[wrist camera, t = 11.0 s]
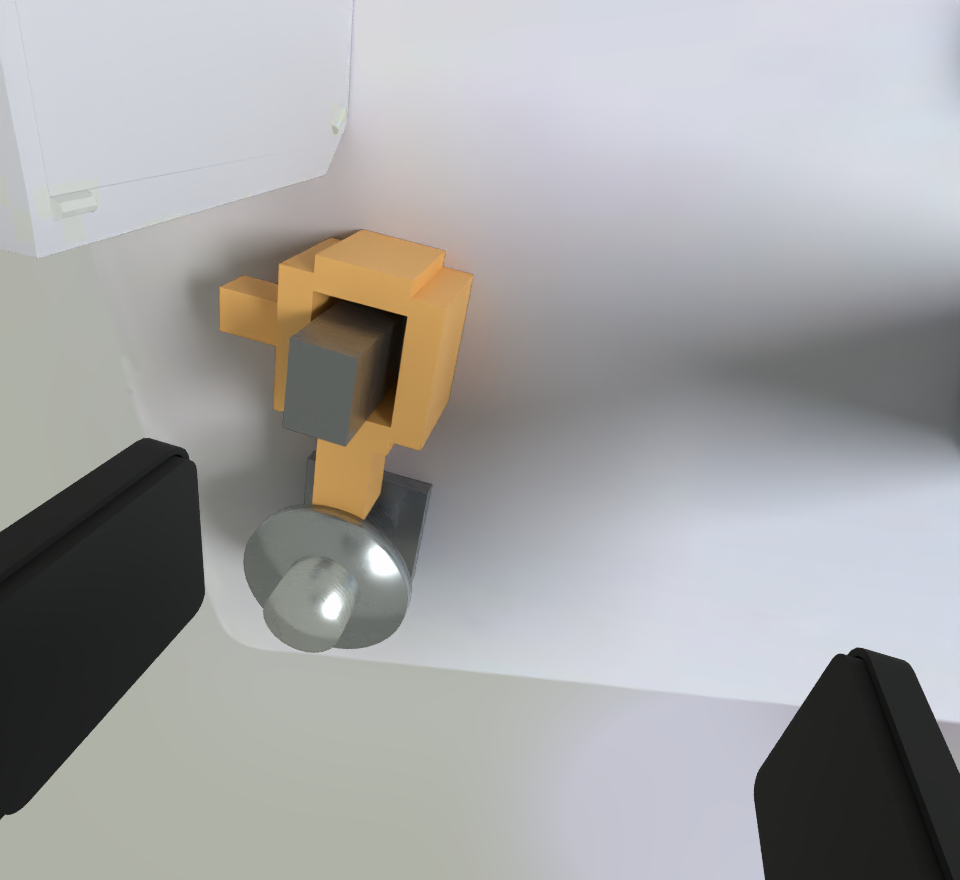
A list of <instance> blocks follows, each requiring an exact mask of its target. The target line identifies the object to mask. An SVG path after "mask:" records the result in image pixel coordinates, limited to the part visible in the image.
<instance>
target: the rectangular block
mask: <svg viewBox="0 0 960 880" xmlns="http://www.w3.org/2000/svg"><path fill="white" fill-rule="evenodd" d="M407 317H408V316H404V315H400V314H397V313H393V312H389V311H385V310H382V309H378V308H374V307H371V306H367V305H363V304H359V303H356V302H352V301H348V300H344V299H341V300H340V301H339V302H337V303H336V304H335V305H333V306H332V307H331V308H329V309H328V310H327V311H325V312H324V313H322V314H321V315H320V316H318V317H317V318H316V319H314V320H313V321H312V322H310V323H309V324H308V325H306V326H305V327H304V328H302V329H301V330H300V331H298V332H297V333H296V334H294V335H293V336H292V337H290V340H289V353H288V365H287V377H286V390H285V402H284V414H283V426H282V427H283V428H286V429H289V430H292V431H296V432H299V433H302V434H305V435H309V436H312V437H315V438H318V439H321V440H325V441H328V442H331V443H334V444H337V445H341V446H344V447H346V446H347V444H348V443H349V442H350V441H351V439H352V438H353V437H354V435H355V434H356V433H357V432H358V430H359V429H360V428H361V427H362V425H363V424H364V423H365V421H366V420H367V419H368V418H369V416H370V415H371V414H372V412H373V411H374V410H375V409H376V407H377V406H378V405H379V403H380V402H381V401H382V400H383V398H384V397H385V396H386V395H387V393H388V392H389V391H390V389H391V388H392V387H393V386H394V384H395V383H396V382H397V380H398V377H399V370H400V364H401V357H402V350H403V344H404V337H405V330H406V323H407Z"/></svg>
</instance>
